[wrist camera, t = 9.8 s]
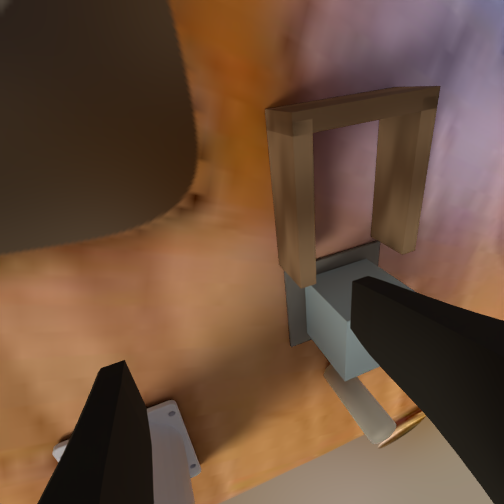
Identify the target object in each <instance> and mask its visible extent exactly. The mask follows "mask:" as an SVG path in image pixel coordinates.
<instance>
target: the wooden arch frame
mask: <svg viewBox="0 0 504 504" xmlns="http://www.w3.org/2000/svg"><path fill="white" fill-rule="evenodd" d="M439 91H440V86H416V87H392V88H386V89H381V90H375V91H369V92H363V93H357V94H351V95H346V96H340V97H334V98H328V99H322V100H316V101H311V102H305V103H299V104H293V105H287V106H282V107H276V108H270V109H265V116H266V127H267V138H268V149H269V160H270V171H271V181H272V192H273V203H274V214H275V225H276V236H277V247H278V258H279V265H280V266H281V267H282V269H283V270H284V271H285V272H286V273H287V274H288V275H289V276H290V277H291V278H292V279H293V281H294V282H295V283H296V284H297V285H298V286H299V287H300V288H301V289H302V288H305V287H308V286H311V285H314V284H316V249H315V207H314V166H313V133H315V132H320V131H325V130H330V129H335V128H340V127H345V126H350V125H355V124H360V123H365V122H370V121H375V120H379V132H378V145H377V159H376V172H375V186H374V200H373V213H372V227H371V237H373V238H374V239H376V240H378V241H379V242H381V243H383V244H385V245H386V246H388V247H390V248H392V249H393V250H395V251H397V252H398V253H400V254H402V255H403V254H406V253H409V252H412V251H415V246H416V240H417V233H418V227H419V220H420V214H421V208H422V201H423V195H424V188H425V182H426V175H427V169H428V162H429V156H430V149H431V143H432V137H433V130H434V124H435V117H436V111H437V104H438V98H439Z"/></svg>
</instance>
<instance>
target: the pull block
mask: <svg viewBox="0 0 504 504" xmlns="http://www.w3.org/2000/svg"><path fill="white" fill-rule="evenodd" d="M366 276H371V277H374V278H377V279H380V280H383V281H386V282H389V283H392V284H394V285H397V286H400V287H403V288H405V289H408V290H411V291H413V290H412V289H411V288H409V287H408V286H406V285H405V284H403V283H402V282H400V281H399V280H397V279H396V278H394V277H393V276H391V275H390V274H388V273H387V272H385V271H384V270H383V269H381V268H380V267H378V266H377V265H375V264H374V263H372V262H371V261H369V260H368V259H363V260H360V261H357V262H354V263H351V264H348V265H345V266H342V267H339V268H336V269H333V270H330V271H327V272H324V273H321V274H318V275H316V284H314V285H311V286H308V287H305V298H306V320H307V333H308V335H309V336H310V337H311V339H312V340H313V341H314V342H315V344H316V345H317V346H318V348H319V349H320V350H321V351H322V353H323V354H324V355H325V357H326V358H327V359H328V361H329V362H330V363H331V364H330V365H329V366H328V367H327V368H326V369H325V371H324V377H325V379H326V380H327V382H328V383H329V384H330V386H331V387H332V389H333V390H334V391H335V393H336V394H337V396H338V397H339V398H340V400H341V401H342V403H343V404H344V405H345V407H346V408H347V410H348V411H349V412H350V414H351V415H352V417H353V418H354V419H355V421H356V422H357V424H358V425H359V426H360V428H361V429H362V431H363V432H364V434H365V435H366V436H367V438H368V439H369V440H370V442H371V443H372V444H378V443H381V442H383V441H384V440H386V439H387V438H388V437H390V436H391V435H392V433H393V432H394V431H395V428H396V423H395V422H394V421H393V420H392V418H391V417H390V416H389V415H388V414H387V412H386V411H385V410H384V409H383V408H382V406H381V405H380V404H379V403H378V402H377V400H376V399H375V398H374V397H373V396H372V394H371V393H370V392H369V391H368V389H367V388H366V387H365V386H364V385H363V383H362V382H361V381H360V380H359V379H358V377H357V376H359V375H361V374H363V373H366V372H368V371H370V370H372V369H375V368H377V367H379V364H378V363H377V362H376V361H375V360H374V359H373V358H372V357H371V356H370V355H369V353H368V352H367V351H366V350H365V348H364V347H363V346H362V344H361V343H360V342H359V340H358V339H357V337H356V336H355V334H354V333H353V332H352V330H351V329H350V320H351V297H352V281H354V280H357V279H360V278H363V277H366ZM414 292H415V291H414Z"/></svg>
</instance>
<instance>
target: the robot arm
mask: <svg viewBox="0 0 504 504" xmlns="http://www.w3.org/2000/svg"><path fill="white" fill-rule="evenodd" d="M350 329H351V330H352V332H353V333H354V334H355V336H356V337H357V339H358V340H359V342H360V343H361V344H362V346H363V347H364V348H365V350H366V351H367V352H368V353H369V355H370V356H371V357H372V358H373V359H374V360H375V361H376V362H377V363H378V364H379V366H380V367H381V368H382V369H383V370H384V371H385V372H386V373H387V374H388V375H389V376H390V377H391V378H392V379H393V380H394V382H395V383H396V384H397V385H398V386H399V387H400V388H401V389H402V390H403V391H404V392H405V393H406V394H407V395H408V396H409V397H410V398H411V400H412V401H413V402H414V403H415V404H416V405H417V406H418V407H419V408H420V409H421V410H422V411H423V412H424V414H425V415H426V416H427V417H428V418H429V419H430V420H431V421H432V423H433V424H434V425H435V426H436V427H437V429H438V430H439V431H440V433H441V434H442V435H443V436H444V438H445V439H446V440H447V441H448V443H449V444H450V445H451V447H452V448H453V449H454V450H455V451H456V453H457V454H458V455H459V456H460V458H461V459H462V461H463V462H464V463H465V465H466V466H467V467H468V469H469V470H470V471H471V473H472V474H473V475H474V477H475V478H476V479H477V481H478V482H479V483H480V484H481V486H482V487H483V489H484V490H485V492H486V493H487V494H488V496H489V497H490V499H491V500H492V501H493V503H494V504H504V321H503V320H499V319H496V318H492V317H488V316H485V315H482V314H479V313H475V312H472V311H469V310H466V309H463V308H460V307H457V306H453V305H450V304H447V303H445V302H442V301H439V300H436V299H433V298H430V297H427V296H425V295H422V294H419V293H416V292H414V291H411V290H408V289H405V288H403V287H400V286H397V285H394V284H392V283H389V282H386V281H383V280H380V279H377V278H374V277H371V276H366V277H363V278H360V279H357V280H354V281H352V297H351V320H350ZM53 456H54V457H55V458H56V460H57V461H58V462H59V463H58V465H57V467H56V469H55V470H54V472H53V474H52V476H51V478H50V480H49V482H48V484H47V486H46V488H45V490H44V492H43V494H42V496H41V498H40V500H39V502H38V504H195V501H194V495H193V490H192V484H191V479H190V478H192V477H194V476H196V475H198V474H199V473H200V472H201V467H200V464H199V461H198V459H197V456H196V453H195V451H194V448H193V445H192V443H191V440H190V437H189V435H188V432H187V429H186V427H185V424H184V422H183V419H182V416H181V414H180V411H179V408H178V406H177V403H176V402H175V401H174V400H168V401H166V402H163V403H160V404H158V405H155V406H153V407H150V408H148V409H147V408H146V406H145V403H144V401H143V399H142V397H141V395H140V392H139V390H138V388H137V386H136V384H135V382H134V379H133V377H132V375H131V373H130V371H129V368H128V366H127V364H126V362H125V360H123V361H120V362H118V363H115V364H112V365H109V366H106V367H103V368H101V369H100V371H99V372H98V374H97V377H96V379H95V382H94V384H93V387H92V389H91V392H90V394H89V396H88V399H87V401H86V404H85V406H84V408H83V410H82V413H81V415H80V417H79V420H78V422H77V424H76V426H75V429H74V431H73V433H72V435H71V437H70V439H68V440H66V441H63V442H61V443H59V444H57V445H56V446H55V447H54V449H53Z"/></svg>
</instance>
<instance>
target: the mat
mask: <svg viewBox="0 0 504 504" xmlns="http://www.w3.org/2000/svg"><path fill="white" fill-rule="evenodd" d="M379 250H380V242H379V241H378V240H377V241H374V242H371V243H368V244H364V245H361V246H358V247H355V248H352V249H349V250H345V251H342V252H339V253H336V254H333V255H330V256H326V257H323V258H320V259H317V260H316V275H318V274H321V273H324V272H327V271H330V270H333V269H336V268H339V267H342V266H345V265H348V264H351V263H354V262H357V261H360V260H363V259H368V260H369V261H371V262H372V263H374V264H375V265H377V266H378V261H379ZM284 278H285V290H286V302H287V313H288V325H289V337H290V346H291V347H293V346H296V345H298V344H301V343H303V342H306V341H308V340H311V337H310V336H309V335H308V333H307V320H306V298H305V288H302V289H301V288H300V287H299V286H298V285H297V284H296V283H295V282H294V281H293V279H292V278H291V277H290V276H289V275H288V274H287V273H286V272H285V271H284Z"/></svg>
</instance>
